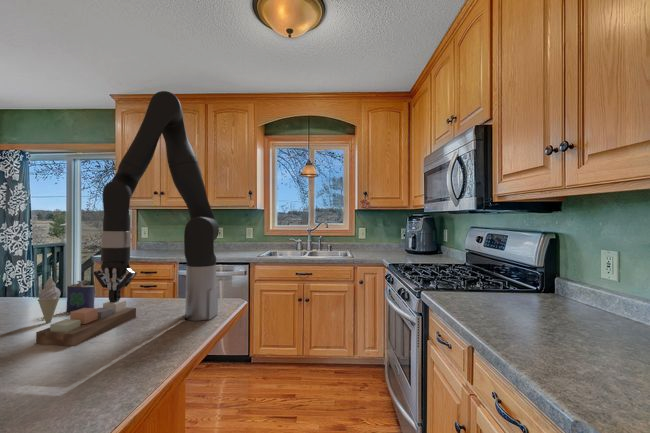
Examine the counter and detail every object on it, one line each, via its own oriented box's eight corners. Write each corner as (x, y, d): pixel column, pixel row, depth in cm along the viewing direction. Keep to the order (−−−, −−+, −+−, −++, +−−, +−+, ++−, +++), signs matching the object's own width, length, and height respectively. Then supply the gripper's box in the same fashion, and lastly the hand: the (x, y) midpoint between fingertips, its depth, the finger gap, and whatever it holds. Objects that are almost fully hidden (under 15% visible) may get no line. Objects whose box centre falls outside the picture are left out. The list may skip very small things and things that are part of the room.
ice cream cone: (63, 324, 94) (64, 274, 94) (43, 329, 89) (45, 277, 89) (52, 322, 95) (53, 273, 95) (32, 327, 90) (34, 276, 91)
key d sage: (80, 331, 81) (80, 319, 81) (65, 337, 77) (65, 325, 77) (65, 330, 81) (65, 319, 81) (50, 336, 77) (50, 324, 77)
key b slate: (112, 318, 92) (112, 308, 92) (101, 322, 88) (101, 312, 88) (99, 317, 92) (99, 307, 92) (87, 322, 88) (87, 311, 88)
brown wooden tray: (137, 320, 98) (138, 307, 98) (74, 350, 75) (75, 334, 75) (105, 319, 99) (105, 306, 99) (33, 348, 76) (33, 332, 76)
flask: (96, 310, 107) (96, 280, 107) (89, 313, 104) (89, 281, 105) (70, 310, 108) (71, 279, 108) (63, 312, 105) (63, 281, 105)
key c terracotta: (97, 319, 86) (97, 308, 86) (84, 324, 82) (85, 312, 82) (83, 318, 87) (83, 307, 87) (70, 323, 82) (70, 312, 83)
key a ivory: (125, 309, 97) (126, 300, 97) (115, 313, 93) (116, 303, 93) (113, 309, 98) (113, 299, 98) (102, 313, 93) (103, 303, 94)
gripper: (144, 245, 99) (142, 299, 99) (105, 244, 100) (104, 297, 100) (127, 247, 91) (125, 306, 91) (86, 246, 93) (84, 303, 92)
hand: (114, 301), depth 96 cm, fingers closed
